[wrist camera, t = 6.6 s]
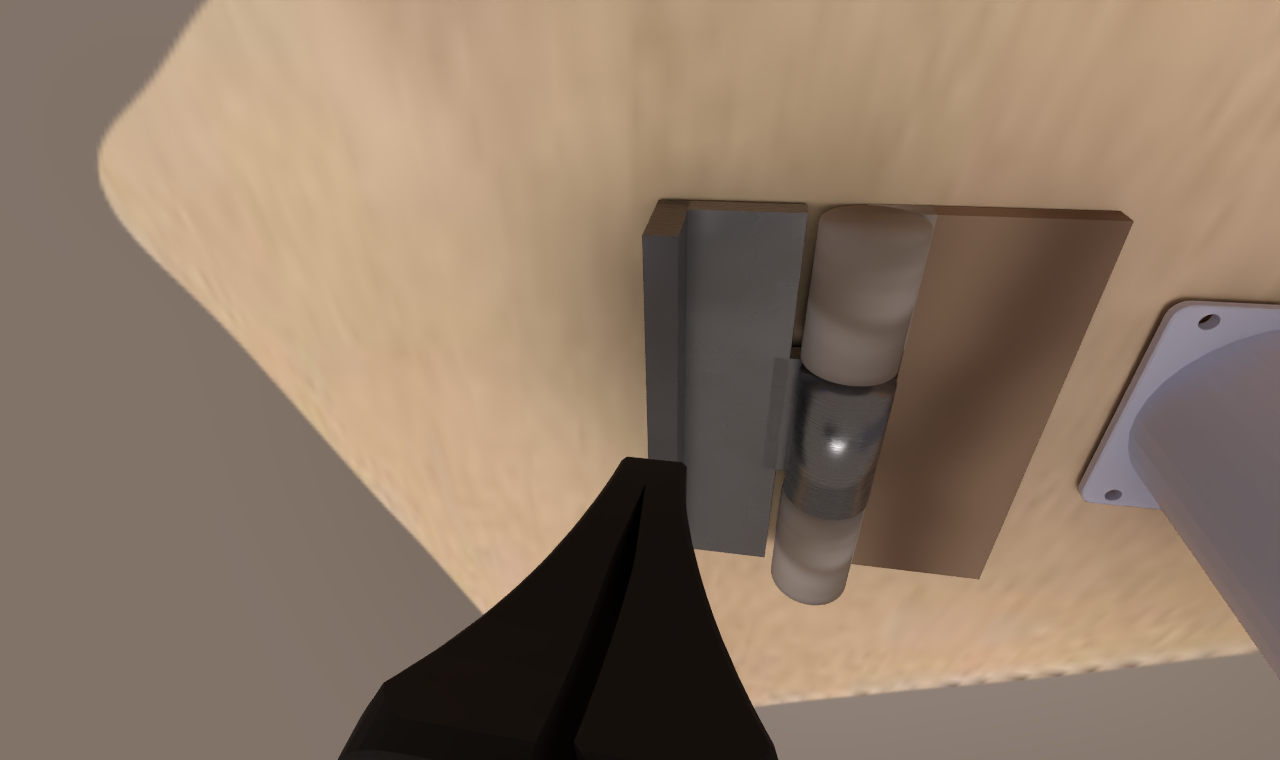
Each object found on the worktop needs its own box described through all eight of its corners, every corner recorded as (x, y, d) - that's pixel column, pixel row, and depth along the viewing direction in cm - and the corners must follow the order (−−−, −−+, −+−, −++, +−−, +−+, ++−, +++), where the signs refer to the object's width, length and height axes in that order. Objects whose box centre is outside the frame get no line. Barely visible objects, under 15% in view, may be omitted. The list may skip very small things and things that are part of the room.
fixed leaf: (1120, 211, 17) (1178, 254, 15) (974, 563, 26) (995, 629, 23) (816, 202, 19) (822, 240, 16) (771, 540, 27) (770, 599, 25)
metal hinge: (922, 207, 18) (946, 248, 16) (842, 551, 27) (850, 614, 24) (658, 199, 19) (641, 236, 17) (662, 530, 28) (651, 588, 25)
